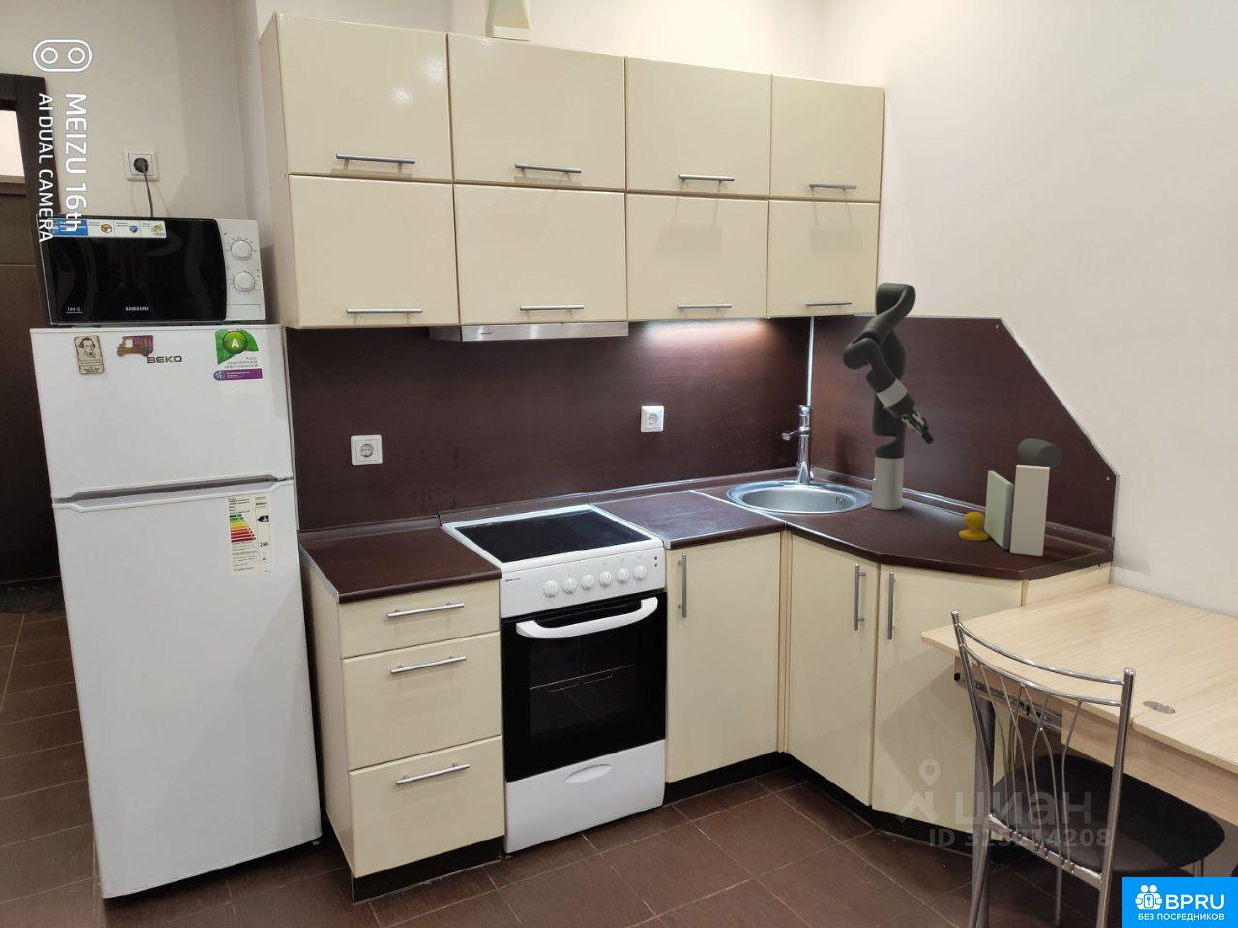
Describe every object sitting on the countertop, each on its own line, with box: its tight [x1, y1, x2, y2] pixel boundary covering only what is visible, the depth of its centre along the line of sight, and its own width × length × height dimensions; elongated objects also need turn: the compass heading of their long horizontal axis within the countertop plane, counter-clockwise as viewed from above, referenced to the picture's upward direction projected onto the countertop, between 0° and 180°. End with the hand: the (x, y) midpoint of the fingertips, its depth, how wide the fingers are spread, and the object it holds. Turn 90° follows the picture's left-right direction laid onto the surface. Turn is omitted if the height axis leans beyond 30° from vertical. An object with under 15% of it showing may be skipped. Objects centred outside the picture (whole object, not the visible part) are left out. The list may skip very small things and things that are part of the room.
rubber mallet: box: [1017, 437, 1063, 470], centre depth 248 cm, size 12×8×30 cm, turn 3°
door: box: [983, 470, 1015, 550], centre depth 252 cm, size 21×2×18 cm, turn 172°
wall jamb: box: [1009, 464, 1051, 557], centre depth 240 cm, size 8×3×24 cm, turn 62°
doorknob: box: [958, 511, 989, 542], centre depth 258 cm, size 8×8×8 cm
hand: (930, 442), depth 258 cm, fingers closed
